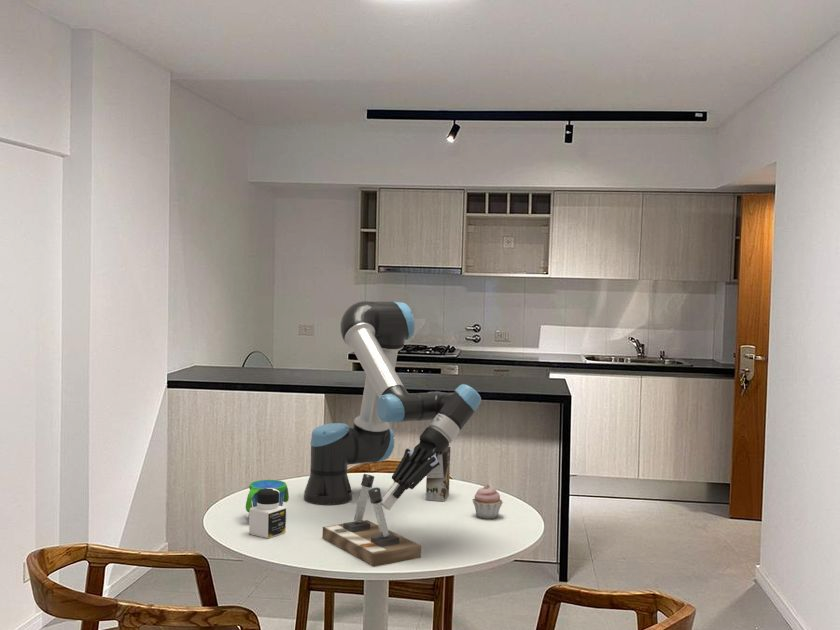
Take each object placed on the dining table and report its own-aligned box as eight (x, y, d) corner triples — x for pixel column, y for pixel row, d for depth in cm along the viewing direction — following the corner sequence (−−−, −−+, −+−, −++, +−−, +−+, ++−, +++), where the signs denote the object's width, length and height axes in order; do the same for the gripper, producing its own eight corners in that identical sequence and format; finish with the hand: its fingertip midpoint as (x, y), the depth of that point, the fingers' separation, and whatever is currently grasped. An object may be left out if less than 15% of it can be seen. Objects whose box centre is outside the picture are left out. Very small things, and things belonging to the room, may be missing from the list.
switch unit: (322, 538, 229) (323, 521, 228) (367, 530, 237) (367, 514, 236) (373, 566, 207) (374, 548, 207) (420, 557, 215) (421, 539, 215)
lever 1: (349, 519, 228) (361, 473, 229) (359, 520, 230) (370, 475, 231) (355, 522, 226) (367, 475, 227) (364, 523, 227) (376, 477, 229)
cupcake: (464, 515, 255) (465, 482, 255) (485, 510, 262) (486, 478, 261) (488, 522, 248) (489, 488, 248) (508, 517, 255) (510, 484, 255)
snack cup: (258, 528, 236) (259, 491, 236) (233, 520, 243) (234, 484, 242) (299, 517, 248) (300, 482, 248) (275, 510, 255) (276, 476, 254)
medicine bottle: (268, 539, 226) (269, 494, 226) (248, 534, 230) (249, 490, 230) (286, 532, 232) (287, 489, 232) (266, 528, 236) (267, 485, 236)
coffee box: (444, 501, 270) (446, 451, 270) (425, 500, 272) (426, 450, 271) (449, 495, 279) (451, 446, 279) (430, 493, 281) (432, 444, 280)
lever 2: (376, 536, 216) (365, 491, 214) (386, 531, 218) (375, 486, 215) (383, 539, 214) (372, 493, 211) (392, 534, 216) (382, 489, 213)
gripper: (416, 422, 228) (362, 491, 219) (446, 429, 217) (390, 503, 208) (432, 440, 231) (378, 509, 222) (461, 448, 221) (407, 521, 212)
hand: (384, 506), depth 215 cm, fingers closed
